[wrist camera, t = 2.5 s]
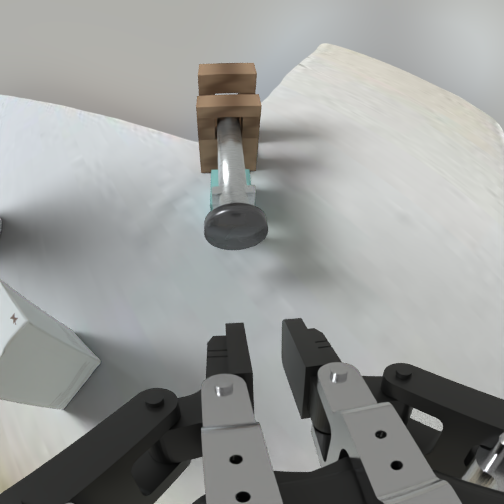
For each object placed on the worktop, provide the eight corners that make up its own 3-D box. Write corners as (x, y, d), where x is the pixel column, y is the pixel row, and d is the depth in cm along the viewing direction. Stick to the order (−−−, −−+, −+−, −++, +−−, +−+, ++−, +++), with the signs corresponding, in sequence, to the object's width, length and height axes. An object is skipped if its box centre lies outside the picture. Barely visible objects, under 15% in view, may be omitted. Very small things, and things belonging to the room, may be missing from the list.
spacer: (211, 224, 40) (210, 204, 37) (212, 190, 43) (211, 169, 40) (250, 223, 40) (252, 203, 37) (248, 189, 44) (249, 169, 40)
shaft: (209, 270, 35) (202, 214, 27) (208, 151, 46) (205, 95, 37) (261, 268, 36) (271, 211, 27) (246, 149, 47) (250, 94, 38)
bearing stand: (201, 172, 45) (195, 97, 34) (202, 131, 50) (199, 64, 39) (255, 170, 45) (262, 95, 34) (249, 129, 51) (253, 63, 40)
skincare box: (72, 330, 31) (-1, 268, 18) (105, 364, 30) (30, 316, 17) (33, 378, 27) (-54, 338, 15) (63, 415, 26) (-28, 394, 13)
